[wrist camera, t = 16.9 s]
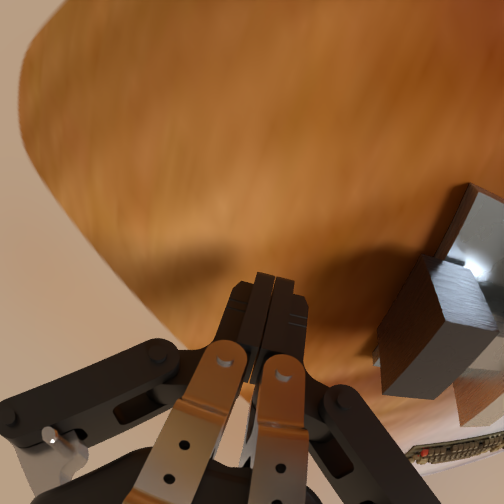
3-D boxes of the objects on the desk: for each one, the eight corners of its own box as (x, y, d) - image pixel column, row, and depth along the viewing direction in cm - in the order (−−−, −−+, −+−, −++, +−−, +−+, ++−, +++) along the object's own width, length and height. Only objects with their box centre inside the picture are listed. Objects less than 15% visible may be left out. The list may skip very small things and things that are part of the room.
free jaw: (454, 182, 10) (499, 236, 7) (582, 252, 9) (615, 298, 6) (351, 365, 17) (350, 424, 14) (479, 382, 16) (489, 428, 13)
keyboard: (395, 458, 31) (395, 471, 29) (419, 433, 26) (420, 449, 24) (516, 437, 26) (518, 448, 25) (549, 408, 21) (552, 420, 20)
